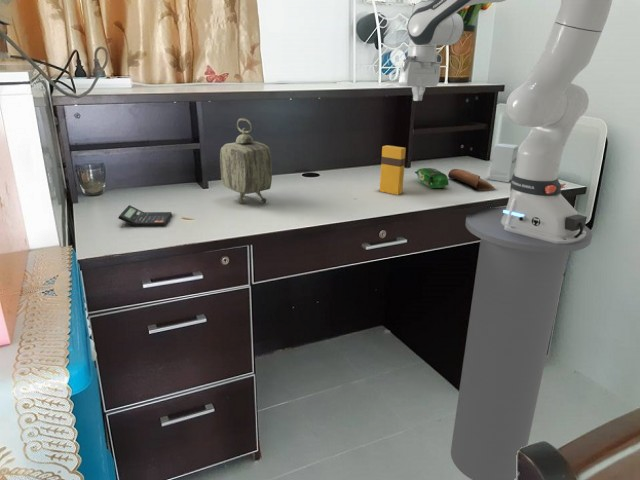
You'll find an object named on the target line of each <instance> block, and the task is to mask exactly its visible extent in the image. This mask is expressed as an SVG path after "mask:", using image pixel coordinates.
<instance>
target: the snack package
mask: <svg viewBox="0 0 640 480" xmlns="http://www.w3.org/2000/svg"><path fill="white" fill-rule="evenodd" d="M414 173H415V174H416V175H417V178H418V180H419V181H420V182H421V183H422V184H424V185H425V186H427V187H428V188H431V189H444V188H445V187H446V186H448V185H449V179H448V178H449V177H448V175H447V174H445V173H444V172H442V171H440V170H439V169H437V168H434V167H422V168H419V169H417V170H416V171H414Z"/></svg>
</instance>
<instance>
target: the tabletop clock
mask: <svg viewBox="0 0 640 480" xmlns="http://www.w3.org/2000/svg"><path fill="white" fill-rule="evenodd" d="M241 121H242V122H243V121H244V122H247V123H248V125H249V128H250V129H249V130H247V128H246V127H243V128H242V129H241V128H240V126H239V124H240V122H241ZM236 128H237V130H238V131H239V132H240V133H241V134H239V135H238V136H237V137H236V139H235V142H229V143H225V144H224V145H223V146H222V147H221V148H220V150H219V169H220V179H221V184H222V185H223V186H224V187H225V188H226V189H229V190H232V191H234V192H237V193H238V194H239V196H240V197H239V198H238V199H237V201H238V203H240V204H243V203H244V201H245V200H244V198H243V197H245V195H250V194H254V193H255V194H257V195H258V196H259V198H260V199H261V203H262V204H266V203H267V198H265V197H263V195H262V193H261V192H263V191H268V190H270V189H271V187H272V181H273V161H272V154H271V150H270V147H269V146H268V145H266V144H264V143H262V142H259V141H254V138H253V137H252V135H250V133H251V132H252V130H253V125H252V122H251V121H250V120H249V119H247V118H245V117H240V118H238V119H237V121H236Z"/></svg>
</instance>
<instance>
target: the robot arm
mask: <svg viewBox="0 0 640 480" xmlns="http://www.w3.org/2000/svg"><path fill="white" fill-rule="evenodd" d="M505 1H506V0H422V1H419V2H418V3H416V4H415V5H414V6H413V9H412V12H411V15H410V17H409V20H408V22H407V35H408V37H409V43H408V49H407V55H406V56H405V57H404V59H403V60H402V63H401V66H400V71H399V75H398V85H399V86H400V87H406V88H407V87H409V88H411V92H412V100H413V101H414V102H420V101H421V102H422V101H423V96H424V93H425V91H426V87H438V84H439V83H440V76H441V64H442V62H443V56H442V55H441V54H440V53H439V51H437V46H453V45H455V44H457V43H458V42H459V41H460V39H461V38H462V37H463V34H464V30H465V25H464V24H465V23H464V20H463V19H464V18H463V17H462V16H461V15H460V14H459V13H458V12H460V11H461V10H463V9H465V8H468V7H470V6H473V5H474V6H475V5H480V4H481V5H482V4H489V3H490V4H492V3H501V2H505ZM612 2H613V0H560V6H559V9H558V12H557V14H556V17H555V20H554V22H553V26H552V28H551V32H550V33H549V36H548V38H547V41H546V44H545V47H544V49H543V51H542V53H541V55H540V57H539V59H538V61H537V62H536V64H535V66H534V67H533V69H532V70H531V71H530V73H529V74H528V76H527V77H526V78H525V80H524V81H523V82H522V83H521V84H520V85H519V86H518V87H516V88H515V89H514V90H513V91H511V93H510V94H509V95H508V98H507V100H506V105H505V110H506V115H507V117H508V119H509V121H511V122H512V123H513V124H515V125H518V126H522V127H527V128H531V129H530V131H529V134H528V135H527V136H526V137H525V139H524V140H523V141H522V142H521V143H520V145H519V146H518V152H517V158H516V165H515V171H514V174H513V175H512V179H511V180H510V187H509V188H510V194H509V197H508V201H507V204H506V210H503V213H504V215H503V217H502V219H501V224H502V225H503V226H504V230H506V231H510V232H513V233H517V234H521V235H525V236H529V237H533V238H537V239H540V240H544V241H548V242H552V243H556V244H568V243H574V242H577V241H580V240H582V239H584V238H585V237H586V231H584V230H583V228H585V226H586V223H587V219H588V216H585V215H583V214H579V213H578V211H577V209H575V208H574V207H573V205H571V203H570V202H569V201H568V200H567V199H566V198H565V197H564V196H563V194H562V189H565V188H566V183H560V181H559V178H558V176H559V170H560V166H561V161H562V156H563V153H564V149H565V146H566V144H567V142H568V139H569V138H570V135H571V134H572V132H573V129H574V127H575V125H576V124H577V122H578V121H579V120H580V118H581V117H583V116H584V114H586V112H587V110H588V107H589V102H590V101H589V100H590V99H589V94H588V93H587V91H586V89H585V88H583V87H582V86H579V85H578V84H574V83H572V82H574V80H575V78H576V77H577V76H578V75H579V74H580V73H581V72H582V71H583V70H585V69H586V67H588V66H589V64H590V62H591V60H592V57H593V55H594V53H595V50H596V48H597V46H598V43H599V41H600V38H601V36H602V33H603V31H604V28H605V25H606V22H607V20H608V17H609V14H610V11H611V7H612V4H613V3H612Z"/></svg>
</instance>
